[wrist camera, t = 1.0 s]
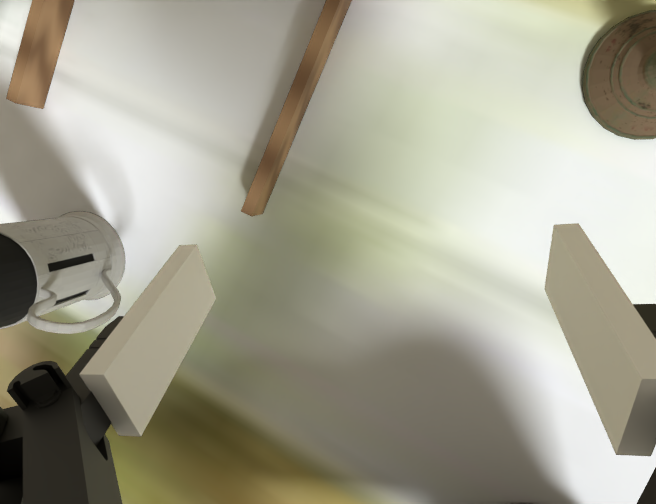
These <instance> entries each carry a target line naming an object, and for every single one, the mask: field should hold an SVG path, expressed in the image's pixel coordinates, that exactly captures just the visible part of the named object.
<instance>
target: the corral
mask: <svg viewBox="0 0 656 504" xmlns="http://www.w3.org/2000/svg"><path fill="white" fill-rule="evenodd" d="M351 1H352V0H326V2H325V5H324V7H323V10H322V12H321V15H320V17H319V20H318V22H317V24H316V27H315V29H314V32H313V34H312V37H311V39H310V42H309V44H308V47H307V49H306V52H305V54H304V57H303V59H302V62H301V64H300V66H299V69H298V71H297V74H296V76H295V79H294V81H293V84H292V86H291V89H290V91H289V94H288V96H287V99H286V101H285V103H284V106H283V108H282V111H281V113H280V116H279V118H278V121H277V123H276V126H275V128H274V131H273V133H272V136H271V138H270V141H269V143H268V145H267V148H266V150H265V153H264V155H263V158H262V160H261V163H260V165H259V168H258V170H257V173H256V175H255V178H254V180H253V183H252V185H251V187H250V190H249V192H248V195H247V197H246V200H245V202H244V205H243V207H242V210H241V212H244V213H246V214H248V215H250V216H255V215H260V214H263V212H264V209H265V207H266V205H267V202H268V200H269V197H270V195H271V193H272V190H273V188H274V185H275V183H276V181H277V178H278V176H279V173H280V171H281V169H282V166H283V164H284V161H285V159H286V157H287V154H288V152H289V149H290V147H291V145H292V142H293V140H294V137H295V135H296V133H297V130H298V128H299V125H300V123H301V121H302V118H303V116H304V113H305V111H306V109H307V106H308V104H309V101H310V99H311V97H312V94H313V92H314V89H315V87H316V85H317V82H318V80H319V77H320V75H321V73H322V70H323V68H324V65H325V63H326V61H327V58H328V56H329V53H330V51H331V49H332V46H333V44H334V41H335V39H336V37H337V34H338V32H339V29H340V27H341V25H342V22H343V20H344V17H345V15H346V13H347V10H348V8H349V5H350V3H351ZM73 4H74V0H32V4H31V8H30V11H29V15H28V19H27V22H26V26H25V30H24V34H23V37H22V41H21V45H20V49H19V52H18V56H17V60H16V63H15V67H14V71H13V75H12V78H11V82H10V86H9V90H8V93H7V97H6V99H8V100H10V101H12V102H14V103H17V104H22V105H27V106H31V107H36V108H41V109H43V108H44V104H45V101H46V98H47V94H48V91H49V87H50V84H51V80H52V77H53V73H54V70H55V66H56V63H57V59H58V56H59V52H60V49H61V45H62V42H63V38H64V35H65V31H66V28H67V25H68V21H69V18H70V14H71V11H72V7H73Z"/></svg>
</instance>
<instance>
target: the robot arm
mask: <svg viewBox="0 0 656 504" xmlns="http://www.w3.org/2000/svg"><path fill="white" fill-rule="evenodd" d="M545 291H546V294H547V296H548V298H549V301H550V303H551V305H552V308H553V310H554V312H555V315H556V317H557V319H558V321H559V324H560V326H561V328H562V331H563V333H564V335H565V338H566V340H567V342H568V345H569V347H570V349H571V352H572V354H573V356H574V358H575V361H576V363H577V365H578V368H579V370H580V372H581V375H582V377H583V379H584V382H585V384H586V386H587V389H588V391H589V393H590V395H591V398H592V400H593V402H594V405H595V407H596V409H597V412H598V414H599V416H600V419H601V421H602V423H603V425H604V428H605V430H606V432H607V435H608V437H609V439H610V442H611V444H612V446H613V449H614V451H615V453H616V455H635V456H651V455H652V452H653V450H654V447H655V445H656V304H632V303H631V301H630V300H629V298H628V297H627V295H626V294H625V292H624V291H623V289H622V288H621V286H620V285H619V283H618V282H617V280H616V279H615V277H614V276H613V274H612V273H611V271H610V270H609V268H608V267H607V265H606V264H605V262H604V261H603V259H602V258H601V256H600V255H599V253H598V252H597V250H596V249H595V247H594V246H593V244H592V243H591V241H590V240H589V238H588V237H587V235H586V234H585V232H584V231H583V229H582V228H581V226H580V225H579V223H578V224H560V225H554V227H553V234H552V241H551V248H550V255H549V262H548V269H547V275H546V282H545ZM215 300H216V296H215V293H214V291H213V288H212V285H211V282H210V279H209V277H208V274H207V271H206V268H205V266H204V263H203V260H202V257H201V254H200V252H199V249H198V246H197V245H179V246H178V248H177V249H176V250H175V252H174V253H173V254H172V255H171V257H170V258H169V259H168V261H167V262H166V263H165V264H164V266H163V267H162V268H161V270H160V271H159V272H158V274H157V275H156V276H155V277H154V279H153V280H152V281H151V283H150V284H149V285H148V286H147V288H146V289H145V290H144V292H143V293H142V294H141V295H140V297H139V298H138V299H137V301H136V302H135V303H134V304H133V306H132V307H131V308H130V310H129V311H128V312H127V313H126V315H125V316H119V317H117V318H116V319H115V320H114V321H112V322H111V323H110V324H108V325H107V326H106V327H105V328H104V329H103V330H102V332H101V333H100V334H99V335H98V337H97V340H94V342H93V343H92V344H91V345H90V347H89V349H87V350H86V352H85V353H84V354H83V355H82V357H81V358H80V359H79V360H78V361H77V363H76V364H75V365H74V366H73V368H72V369H71V370H70V371H69V373H68V374H67V375H66V376H65V375H64V373H63V372H62V370H61V369H60V367H59V366H58V364H57V363H55V362H52V361H45V362H40V363H37V364H34V365H32V366H30V367H28V368H27V369H25V370H23V371H22V372H21V373H19V374H18V375H17V376H16V377H15V378H14V379H13V380H12V381H11V383H10V384H9V386H8V389H7V392H8V393H9V394H10V395H11V397H12V398H13V399H14V400H15V402H16V403H17V404H18V406H14V407H10V408H6V409H2V408H1V407H0V504H122V500H121V496H120V491H119V486H118V481H117V477H116V472H115V467H114V463H113V458H112V453H111V449H110V444H109V440H108V439H107V437H106V436H105V433H106V431H107V429H108V428H109V426H110V425H111V424H112V426H113V427H114V429H115V430H116V432H117V433H118V435H119V436H142V434H143V432H144V430H145V428H146V427H147V425H148V423H149V421H150V419H151V417H152V416H153V414H154V412H155V410H156V408H157V406H158V405H159V403H160V401H161V399H162V397H163V395H164V394H165V392H166V390H167V388H168V386H169V384H170V383H171V381H172V379H173V377H174V375H175V373H176V372H177V370H178V368H179V366H180V364H181V362H182V361H183V359H184V357H185V355H186V353H187V352H188V350H189V348H190V346H191V344H192V342H193V341H194V339H195V337H196V335H197V333H198V331H199V330H200V328H201V326H202V324H203V322H204V320H205V319H206V317H207V315H208V313H209V311H210V309H211V308H212V306H213V304H214V302H215ZM637 504H656V468H655V470H654V472H653V474H652V476H651V477H650V479H649V481H648V483H647V485H646V487H645V489H644V491H643V493H642V495H641V497H640V498H639V500H638V502H637Z"/></svg>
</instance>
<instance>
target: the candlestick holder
mask: <svg viewBox="0 0 656 504" xmlns="http://www.w3.org/2000/svg"><path fill="white" fill-rule="evenodd" d="M583 93H584V98H585V103H586V105H587V107H588V109H589V111H590V113H591V114H592V116H593V118H594V119H595V120H596V121H597V122H598V123H599V124H600V125H601V126H602V127H603V128H605V129H607V130H609V131H610V132H612V133H614V134H616V135H618V136H621V137H626V138H630V139H634V140H636V139H654V138H656V10H654V11H647V12H643V13H640V14H637V15H634V16H631V17H628V18H627V19H625V20H623V21H622V22H620V23H618V24H617V25H615V26H613V27H612V28H611V29H610V30H609V31H608V32H607V33H606V34H605V35H604V36H603V37H602V38H601V39H600V40H599V41H598V43H597V44H596V46H595V47H594V49H593V50H592V52H591V53H590V55H589V58H588V61H587V64H586V67H585V69H584V74H583Z"/></svg>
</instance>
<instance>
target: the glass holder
mask: <svg viewBox="0 0 656 504" xmlns="http://www.w3.org/2000/svg"><path fill="white" fill-rule="evenodd" d="M124 270H125V253H124V248H123V245H122V242H121V240H120V238H119V236H118V234H117V233H116V231H115V230H114V229H113V227H112V226H111V225H110V224H109V223H108V222H107V221H105V220H104V219H102V218H101V217H99V216H97V215H95V214H93V213H89V212H85V211H75V212H69V213H67V214H64V215H62V216H60V217H59V218H53V219H44V220H34V221H25V222H15V223H5V224H0V329H2V328H8V327H11V326H13V325H16V324H19V323H22V322H24V321H27V320H28V322H29V324H30V325H32V326H33V327H35V328H37V329H40V330H43V331H47V332H53V333H67V334H72V333H79V332H85V331H88V330H90V329H93V328H96V327H98V326H100V325H101V324H103V323H105V322H107V321H108V320H109V319H110V318H111V317H113V316H114V315H115V313H116V311H117V310H118V308H119V305H120V301H121V296H120V293H119V291H118V290H117V288H116V287H117V286H118V284H119V283H120V281H121V279H122V277H123V273H124ZM110 293H111V295H112V297H113V299H114V304H113V306H112V307H111V308H110V309H108V310H107V311H106V312H105V313H103V314H101V315H99V316H97V317H95V318H93V319H90V320H87V321H84V322H77V323H59V322H53V321H48V320H45V319H41V318H40V317H38V316H41V315H43V314H46V313H49V312H51V311H54V310H57V309H59V308H62V307H65V306H67V305H70V304H73V303H76V302H78V301H81V300H96V299H100V298H102V297H105V296H107V295H108V294H110Z"/></svg>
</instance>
